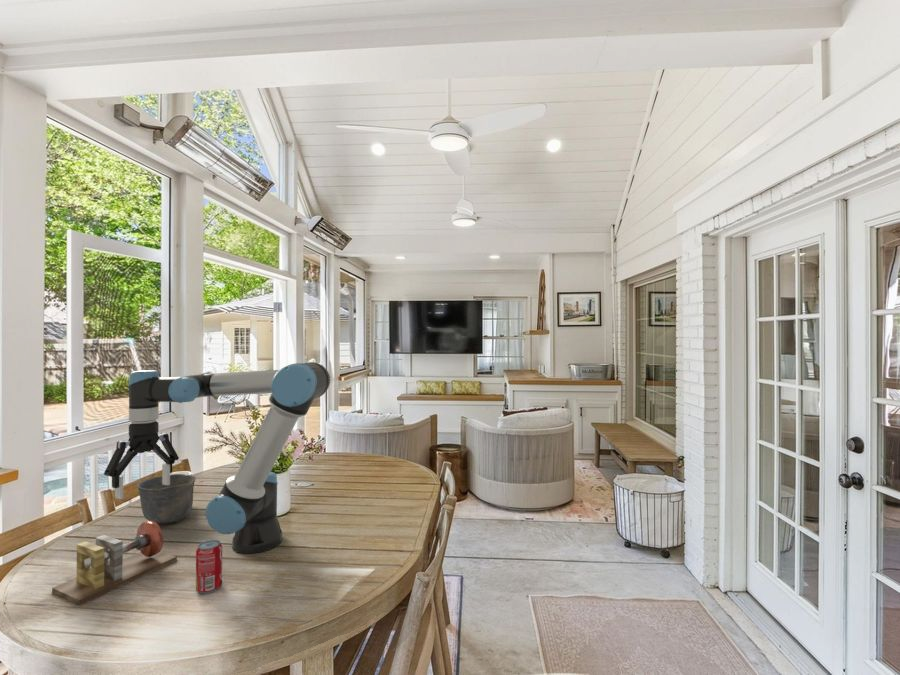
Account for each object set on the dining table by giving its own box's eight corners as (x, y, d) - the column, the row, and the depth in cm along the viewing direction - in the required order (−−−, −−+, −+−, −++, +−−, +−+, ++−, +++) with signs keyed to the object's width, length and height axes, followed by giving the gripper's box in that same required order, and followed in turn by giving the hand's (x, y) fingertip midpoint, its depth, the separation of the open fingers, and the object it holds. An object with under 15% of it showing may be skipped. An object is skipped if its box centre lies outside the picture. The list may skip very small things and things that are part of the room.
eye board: (176, 560, 135) (176, 523, 135) (79, 604, 112) (79, 560, 112) (149, 551, 141) (150, 516, 141) (52, 592, 118) (52, 549, 118)
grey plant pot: (151, 536, 152) (152, 492, 152) (127, 524, 161) (127, 483, 161) (203, 518, 167) (204, 478, 167) (179, 509, 176) (179, 471, 176)
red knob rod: (163, 557, 133) (163, 523, 133) (96, 586, 117) (96, 548, 117) (142, 550, 137) (142, 518, 137) (75, 577, 121) (75, 541, 121)
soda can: (194, 597, 116) (194, 550, 116) (197, 585, 122) (197, 540, 122) (221, 591, 118) (221, 546, 119) (222, 580, 124) (223, 536, 124)
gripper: (176, 414, 149) (176, 478, 149) (89, 427, 127) (89, 502, 126) (191, 415, 146) (190, 481, 146) (104, 429, 123) (104, 506, 123)
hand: (143, 491), depth 136 cm, fingers open, 13 cm apart
